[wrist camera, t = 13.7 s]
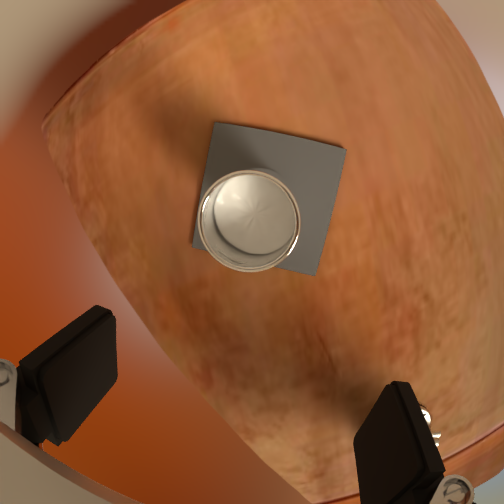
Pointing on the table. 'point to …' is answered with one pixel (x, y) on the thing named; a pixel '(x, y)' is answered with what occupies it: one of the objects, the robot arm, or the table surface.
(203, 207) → the beer glass
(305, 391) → the table surface
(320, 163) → the charcoal mat
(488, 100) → the table surface
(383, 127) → the table surface
